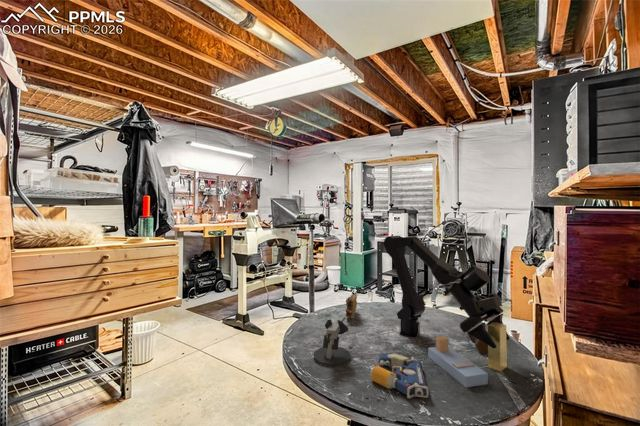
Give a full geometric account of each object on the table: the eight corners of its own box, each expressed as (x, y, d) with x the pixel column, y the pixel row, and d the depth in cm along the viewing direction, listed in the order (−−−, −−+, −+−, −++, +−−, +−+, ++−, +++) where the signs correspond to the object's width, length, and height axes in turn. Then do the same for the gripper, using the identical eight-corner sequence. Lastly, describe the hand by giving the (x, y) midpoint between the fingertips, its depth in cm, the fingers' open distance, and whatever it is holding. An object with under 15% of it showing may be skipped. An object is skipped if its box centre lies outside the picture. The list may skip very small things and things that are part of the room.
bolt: (473, 340, 118) (487, 357, 103) (461, 333, 119) (473, 349, 104) (481, 328, 118) (496, 343, 103) (468, 320, 118) (482, 335, 104)
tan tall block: (488, 367, 94) (487, 325, 94) (494, 362, 97) (494, 321, 97) (500, 371, 91) (500, 328, 91) (506, 367, 94) (506, 325, 94)
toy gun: (369, 396, 80) (429, 405, 77) (369, 380, 80) (429, 388, 77) (372, 360, 100) (420, 366, 97) (373, 347, 100) (420, 352, 97)
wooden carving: (347, 310, 148) (347, 290, 148) (357, 311, 147) (357, 290, 147) (344, 322, 132) (344, 299, 132) (354, 323, 131) (354, 300, 131)
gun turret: (358, 343, 111) (358, 308, 111) (345, 371, 92) (345, 328, 92) (325, 339, 115) (325, 305, 115) (306, 364, 96) (306, 323, 96)
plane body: (428, 356, 101) (428, 335, 101) (446, 354, 103) (446, 333, 102) (465, 387, 83) (465, 362, 83) (487, 384, 85) (487, 359, 85)
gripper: (469, 290, 91) (510, 339, 83) (497, 281, 103) (535, 323, 94) (445, 309, 98) (480, 357, 89) (473, 299, 109) (507, 340, 100)
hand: (502, 343), depth 93 cm, fingers open, 9 cm apart
